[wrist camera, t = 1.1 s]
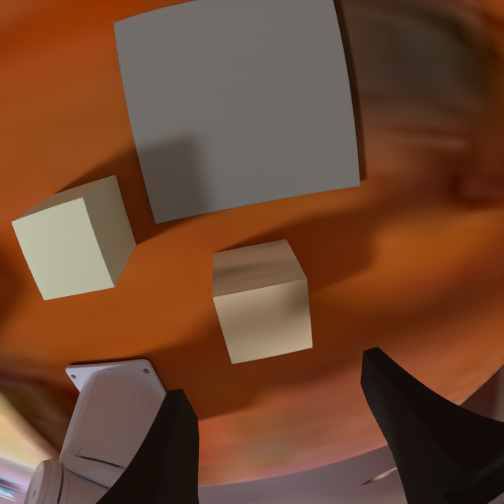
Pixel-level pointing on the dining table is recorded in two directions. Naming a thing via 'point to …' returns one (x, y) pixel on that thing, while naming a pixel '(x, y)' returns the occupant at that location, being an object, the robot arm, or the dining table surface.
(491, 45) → the dining table surface
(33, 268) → the sage brick
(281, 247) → the maple brick
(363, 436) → the dining table surface
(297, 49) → the baseplate
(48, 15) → the dining table surface
